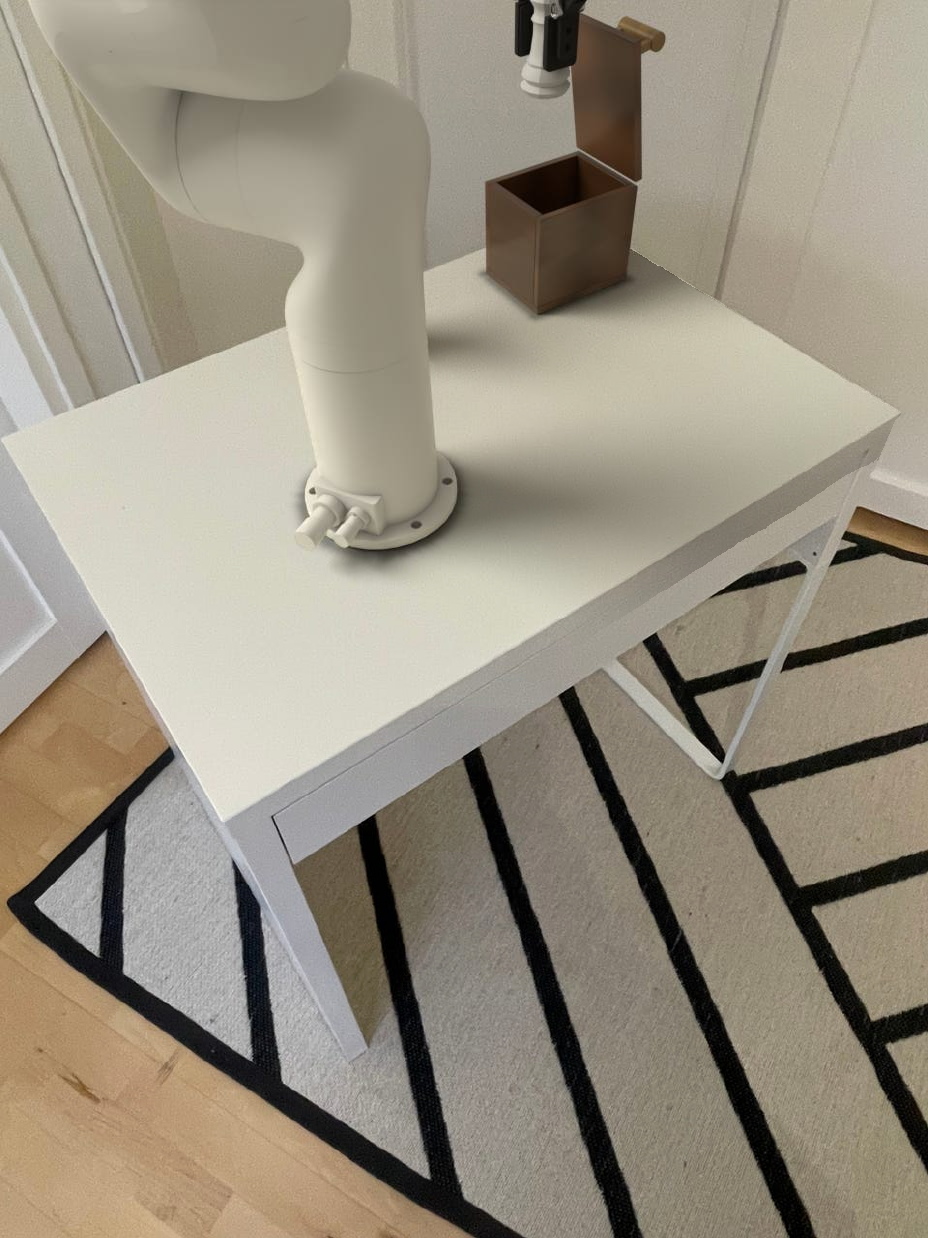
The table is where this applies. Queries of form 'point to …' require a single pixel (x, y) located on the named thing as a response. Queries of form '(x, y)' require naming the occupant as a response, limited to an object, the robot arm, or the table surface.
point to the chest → (558, 230)
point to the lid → (611, 91)
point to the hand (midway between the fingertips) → (545, 57)
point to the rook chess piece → (533, 73)
